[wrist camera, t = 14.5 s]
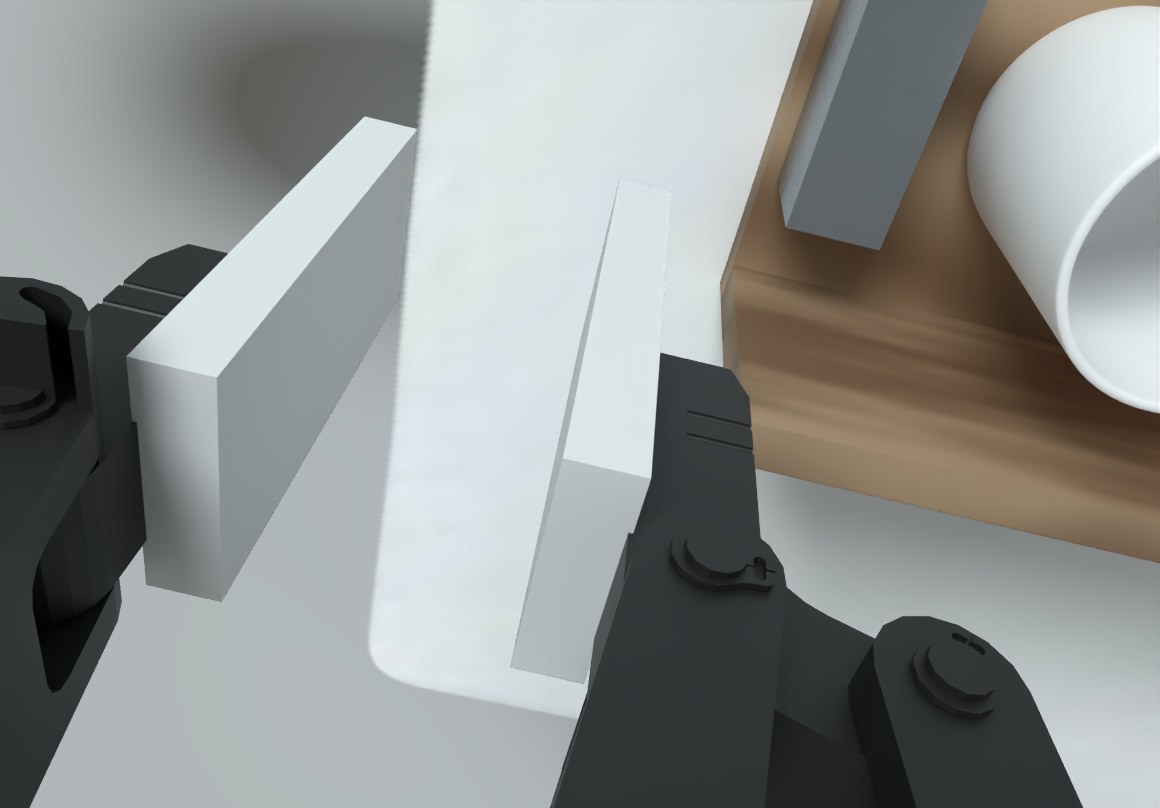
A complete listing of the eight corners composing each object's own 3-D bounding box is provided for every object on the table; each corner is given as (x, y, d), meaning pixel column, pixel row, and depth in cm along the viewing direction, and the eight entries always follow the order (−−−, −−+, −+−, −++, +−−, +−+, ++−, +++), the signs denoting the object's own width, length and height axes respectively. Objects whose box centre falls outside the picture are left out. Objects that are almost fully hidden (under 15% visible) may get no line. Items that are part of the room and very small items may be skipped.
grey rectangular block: (877, -110, 27) (902, -94, 24) (977, -85, 27) (1015, -65, 24) (777, 181, 32) (785, 227, 29) (861, 201, 32) (879, 250, 29)
